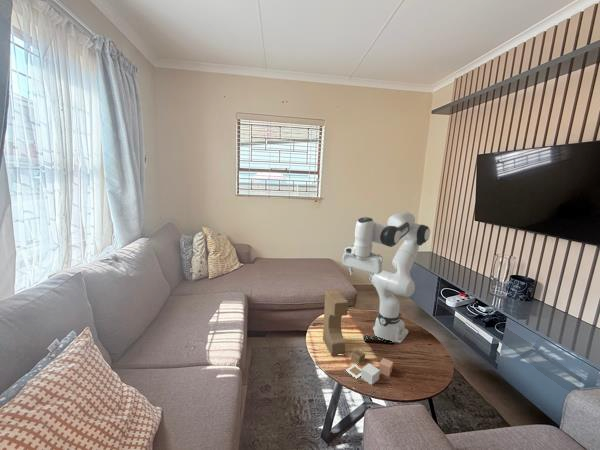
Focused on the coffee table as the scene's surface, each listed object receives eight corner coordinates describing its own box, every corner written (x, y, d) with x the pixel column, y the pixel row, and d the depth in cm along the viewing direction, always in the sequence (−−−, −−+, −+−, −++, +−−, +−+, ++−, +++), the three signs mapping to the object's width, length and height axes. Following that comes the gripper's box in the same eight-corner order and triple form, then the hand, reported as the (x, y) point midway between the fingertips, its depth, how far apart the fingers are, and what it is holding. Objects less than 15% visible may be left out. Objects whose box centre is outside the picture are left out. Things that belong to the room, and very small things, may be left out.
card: (354, 364, 137) (354, 363, 137) (365, 372, 132) (365, 371, 132) (345, 371, 133) (345, 369, 133) (356, 379, 127) (356, 378, 127)
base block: (368, 372, 133) (369, 363, 132) (379, 379, 128) (379, 370, 127) (360, 377, 129) (361, 368, 128) (371, 385, 124) (372, 375, 123)
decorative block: (344, 354, 145) (348, 302, 139) (331, 356, 143) (334, 303, 138) (334, 338, 159) (337, 290, 154) (322, 339, 157) (325, 290, 152)
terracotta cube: (382, 366, 137) (382, 357, 136) (392, 371, 134) (393, 361, 133) (378, 372, 133) (379, 363, 132) (389, 377, 130) (390, 367, 129)
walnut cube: (356, 357, 143) (357, 348, 142) (364, 362, 140) (365, 353, 139) (350, 361, 140) (351, 352, 139) (358, 366, 136) (359, 357, 135)
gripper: (385, 254, 129) (383, 281, 132) (347, 245, 142) (346, 271, 144) (380, 256, 124) (377, 285, 127) (341, 248, 137) (339, 274, 140)
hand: (360, 277), depth 136 cm, fingers open, 8 cm apart
